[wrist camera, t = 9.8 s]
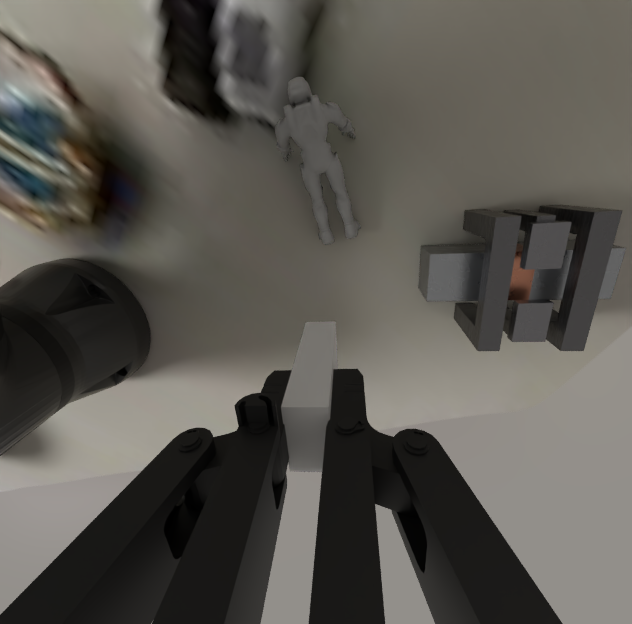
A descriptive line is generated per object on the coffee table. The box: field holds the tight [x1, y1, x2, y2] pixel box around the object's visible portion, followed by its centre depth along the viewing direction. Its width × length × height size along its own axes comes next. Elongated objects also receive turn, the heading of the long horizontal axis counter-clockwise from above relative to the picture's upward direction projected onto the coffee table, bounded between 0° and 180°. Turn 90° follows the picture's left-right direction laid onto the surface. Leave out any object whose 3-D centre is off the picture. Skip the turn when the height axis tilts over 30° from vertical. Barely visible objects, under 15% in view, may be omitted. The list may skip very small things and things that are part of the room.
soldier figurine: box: [275, 77, 361, 245], centre depth 25 cm, size 6×5×12 cm
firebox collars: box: [454, 205, 622, 351], centre depth 26 cm, size 8×10×7 cm
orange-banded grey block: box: [418, 240, 626, 301], centre depth 27 cm, size 14×4×4 cm, turn 93°
